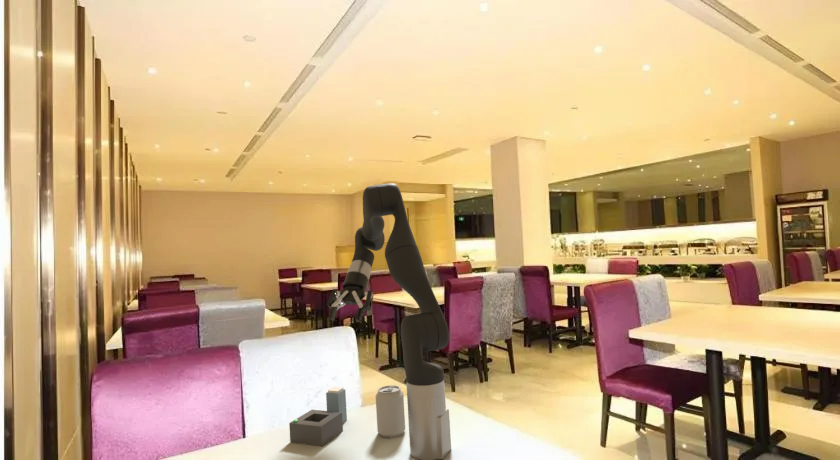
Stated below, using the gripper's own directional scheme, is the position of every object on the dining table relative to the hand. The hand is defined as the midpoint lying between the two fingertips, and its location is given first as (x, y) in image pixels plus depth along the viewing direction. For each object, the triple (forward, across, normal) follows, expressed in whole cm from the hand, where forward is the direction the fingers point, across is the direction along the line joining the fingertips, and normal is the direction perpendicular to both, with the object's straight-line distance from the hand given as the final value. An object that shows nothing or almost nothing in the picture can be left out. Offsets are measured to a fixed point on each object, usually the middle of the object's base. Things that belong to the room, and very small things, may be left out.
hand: (344, 320), depth 141 cm
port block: (+33, 0, +4) cm, 33 cm away
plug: (+27, +1, +12) cm, 29 cm away
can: (+29, +20, +8) cm, 36 cm away
